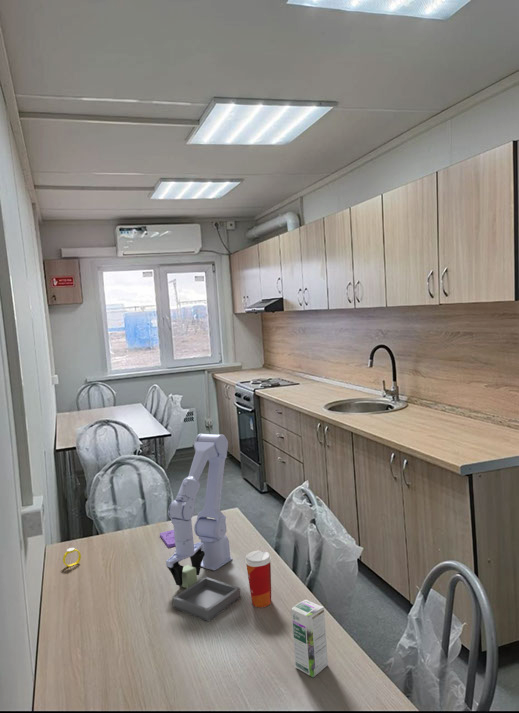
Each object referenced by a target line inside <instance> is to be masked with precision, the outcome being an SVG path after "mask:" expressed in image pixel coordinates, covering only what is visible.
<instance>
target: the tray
mask: <svg viewBox="0 0 519 713" xmlns="http://www.w3.org/2000/svg"><path fill="white" fill-rule="evenodd" d="M241 598H242V596H241V588H240V587H239V586H235V585H232V584H229V583H227V582H223V581H221V580H217V579H215V578H211V577H208V576H204V577H202V578H201V579H199V580H197V582H196V583H195V584H193V585H192V586H190V587H189V588H185V589H184V590H182V591H181V592H179V593H177V594H176V595H174V596H173V597H172V605H173V608H174V609H176V610H179V611H181V612H184V613H186V614H188V615H191V616H194V617H196V618H197V619H198V618H199V619H201V620H204V621H206V622H210V621H211V620H213V619H214V618H216V617H217V616H218V615H220V614H221V613H222V612H224V611H225V610H226V609H228V608H229V607H231V606H232V605H233V604H235V603H236V602H237V601H238V600H240V599H241Z"/></svg>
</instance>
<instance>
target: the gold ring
mask: <svg viewBox="0 0 519 713" xmlns="http://www.w3.org/2000/svg"><path fill="white" fill-rule="evenodd" d="M74 552H77V554H78V557H77V560H76V561H75V562H74V563H73V562H72V563H71V564H67V563H66V558H67V556H68V555H69V554H71V553H74ZM81 558H82V554H81V551H79V550H78V549H76V548H75V547H69V548H67V549H66V552H64V553H63V557H62V562H63V564H64V565H65V566H66V567H68V568H70V566H71V567H74V566H76V564H77V565H78V564H79V563H80V562H81ZM73 565H74V566H73Z"/></svg>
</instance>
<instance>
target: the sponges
mask: <svg viewBox="0 0 519 713" xmlns="http://www.w3.org/2000/svg"><path fill="white" fill-rule="evenodd" d="M159 537H160V538H161V540H162V539H163V540H162V541H163V543H164V544H165V546H166V547H167V548H173V547H176V546H175V537H174V529H170V530H167V531H163V532H159Z"/></svg>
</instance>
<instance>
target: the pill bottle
mask: <svg viewBox="0 0 519 713" xmlns="http://www.w3.org/2000/svg"><path fill="white" fill-rule="evenodd" d="M271 562H272V556H271V555H270V553H269V552H268V551H264V550H252V551H251V552H249V553H247V554H246V556H245V559H244V563H245V565H246V570H247V577H248V578H247V579H248V585H249V591H250V592H249V593H250V598H251V603H252V606H254V607H255V608H260V609H261V608H266V607H268V606H270V605H271V603H272V572H271V571H272V570H271V569H272V566H271Z"/></svg>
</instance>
